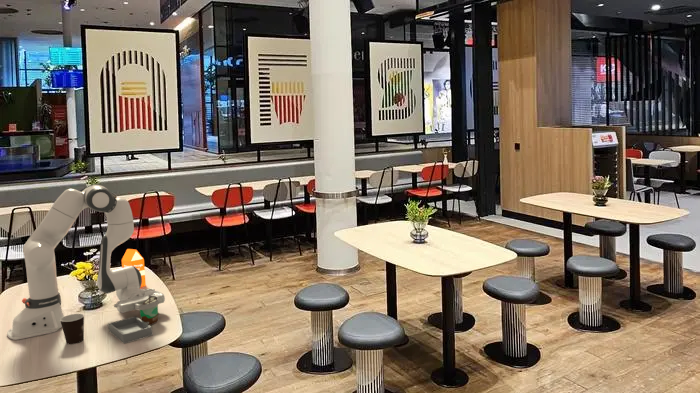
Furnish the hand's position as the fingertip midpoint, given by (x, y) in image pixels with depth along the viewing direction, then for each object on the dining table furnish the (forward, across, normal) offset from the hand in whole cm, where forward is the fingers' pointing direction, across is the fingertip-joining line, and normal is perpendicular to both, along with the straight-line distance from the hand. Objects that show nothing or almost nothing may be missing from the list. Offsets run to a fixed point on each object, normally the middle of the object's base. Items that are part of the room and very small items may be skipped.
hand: (147, 306), depth 242 cm
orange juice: (-56, +14, +7) cm, 58 cm away
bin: (+7, -11, +7) cm, 15 cm away
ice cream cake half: (+2, +1, +7) cm, 7 cm away
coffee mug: (-3, -29, +8) cm, 30 cm away
